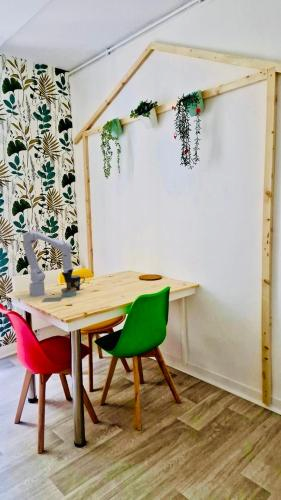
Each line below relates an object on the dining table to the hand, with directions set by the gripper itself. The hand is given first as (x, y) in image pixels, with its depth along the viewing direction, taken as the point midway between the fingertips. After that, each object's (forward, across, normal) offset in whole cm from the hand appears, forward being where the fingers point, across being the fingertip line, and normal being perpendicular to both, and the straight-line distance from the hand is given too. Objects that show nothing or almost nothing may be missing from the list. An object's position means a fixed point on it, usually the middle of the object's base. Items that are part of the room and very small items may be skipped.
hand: (68, 281), depth 224 cm
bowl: (+10, 0, 0) cm, 10 cm away
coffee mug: (+10, +15, -3) cm, 18 cm away
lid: (+6, 0, 0) cm, 6 cm away
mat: (+10, -10, +9) cm, 17 cm away
